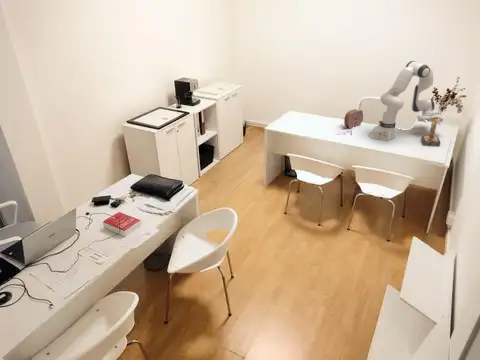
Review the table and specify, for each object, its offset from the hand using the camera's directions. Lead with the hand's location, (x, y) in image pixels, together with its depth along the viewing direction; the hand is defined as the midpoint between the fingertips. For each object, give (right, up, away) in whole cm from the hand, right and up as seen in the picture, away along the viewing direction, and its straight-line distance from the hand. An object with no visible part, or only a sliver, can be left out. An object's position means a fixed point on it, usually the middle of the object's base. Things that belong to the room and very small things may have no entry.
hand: (431, 121), depth 313 cm
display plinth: (-2, -19, -1) cm, 19 cm away
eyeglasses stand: (-2, -15, -3) cm, 15 cm away
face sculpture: (-55, +2, +44) cm, 71 cm away
